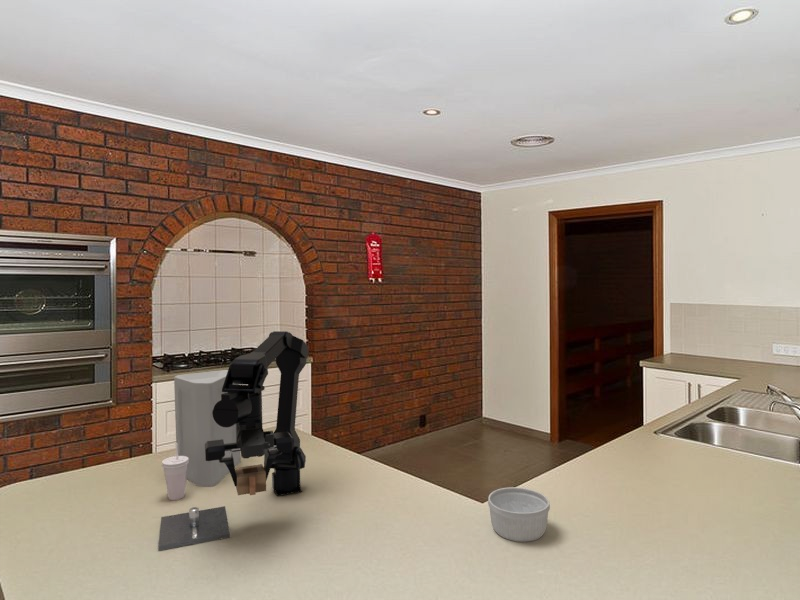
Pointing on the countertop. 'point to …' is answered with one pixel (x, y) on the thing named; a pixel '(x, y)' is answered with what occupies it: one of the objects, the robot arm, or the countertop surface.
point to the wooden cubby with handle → (250, 479)
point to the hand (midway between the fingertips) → (250, 483)
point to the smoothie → (175, 475)
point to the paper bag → (201, 425)
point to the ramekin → (519, 513)
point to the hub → (193, 527)
